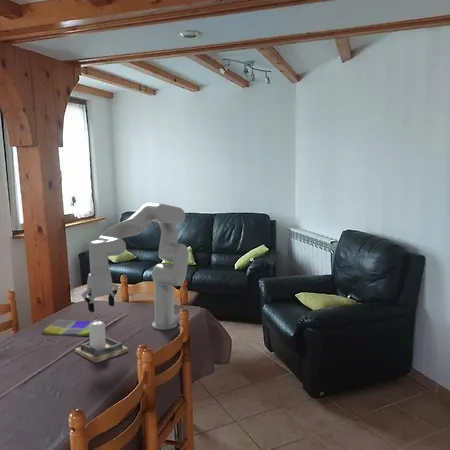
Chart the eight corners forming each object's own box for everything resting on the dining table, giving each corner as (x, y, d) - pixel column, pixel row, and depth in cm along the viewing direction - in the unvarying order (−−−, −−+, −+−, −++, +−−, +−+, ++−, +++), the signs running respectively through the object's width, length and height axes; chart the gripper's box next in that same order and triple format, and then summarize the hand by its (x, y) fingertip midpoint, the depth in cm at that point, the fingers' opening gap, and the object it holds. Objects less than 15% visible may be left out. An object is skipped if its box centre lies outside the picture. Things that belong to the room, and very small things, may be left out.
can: (101, 353, 188) (100, 325, 187) (87, 351, 190) (86, 324, 188) (108, 347, 194) (107, 320, 193) (94, 345, 196) (93, 319, 194)
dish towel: (88, 338, 210) (88, 332, 209) (39, 335, 213) (39, 329, 213) (103, 325, 227) (103, 320, 226) (58, 322, 230) (58, 317, 230)
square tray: (107, 341, 205) (107, 334, 204) (128, 351, 194) (128, 343, 193) (75, 351, 193) (74, 344, 193) (95, 363, 182) (95, 354, 182)
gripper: (112, 264, 198) (114, 301, 200) (76, 272, 185) (78, 311, 188) (121, 267, 193) (123, 305, 195) (85, 275, 180) (88, 316, 183)
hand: (101, 308), depth 191 cm, fingers open, 9 cm apart
